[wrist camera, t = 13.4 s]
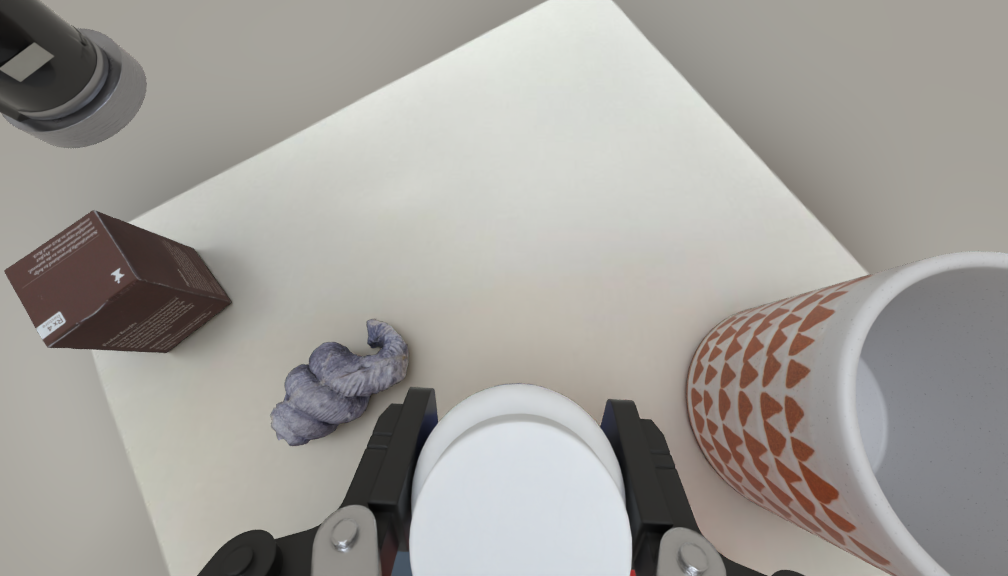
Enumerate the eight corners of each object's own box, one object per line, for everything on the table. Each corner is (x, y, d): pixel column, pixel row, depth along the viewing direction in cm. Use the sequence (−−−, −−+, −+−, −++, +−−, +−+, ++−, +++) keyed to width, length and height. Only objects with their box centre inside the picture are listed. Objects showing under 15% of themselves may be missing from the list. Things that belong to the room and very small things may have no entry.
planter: (690, 509, 24) (881, 651, 12) (676, 303, 27) (814, 243, 15) (906, 521, 23) (1345, 681, 11) (866, 311, 27) (1172, 255, 14)
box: (197, 247, 29) (94, 205, 22) (235, 303, 28) (140, 279, 21) (128, 296, 28) (-1, 269, 21) (165, 356, 27) (41, 349, 20)
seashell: (407, 330, 28) (309, 427, 27) (356, 290, 25) (240, 399, 24) (434, 369, 24) (320, 485, 23) (378, 328, 21) (240, 462, 20)
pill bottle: (513, 548, 15) (517, 842, 5) (426, 444, 16) (302, 540, 6) (604, 448, 16) (745, 553, 6) (516, 356, 17) (523, 327, 7)
